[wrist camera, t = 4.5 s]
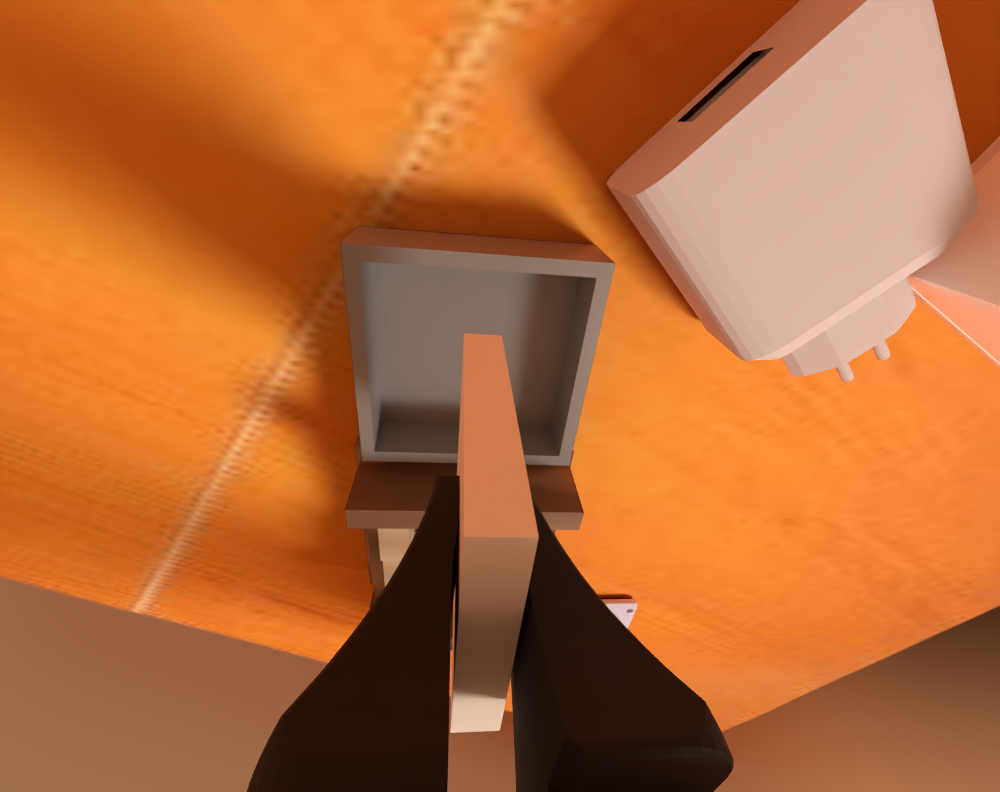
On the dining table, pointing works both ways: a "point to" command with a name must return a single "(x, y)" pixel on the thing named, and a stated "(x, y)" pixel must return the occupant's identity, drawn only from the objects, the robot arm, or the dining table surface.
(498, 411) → the sheet
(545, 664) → the robot arm
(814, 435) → the dining table surface
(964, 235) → the white lidded square jar
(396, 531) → the offcuts
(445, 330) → the tray
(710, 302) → the charger
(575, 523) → the rack
